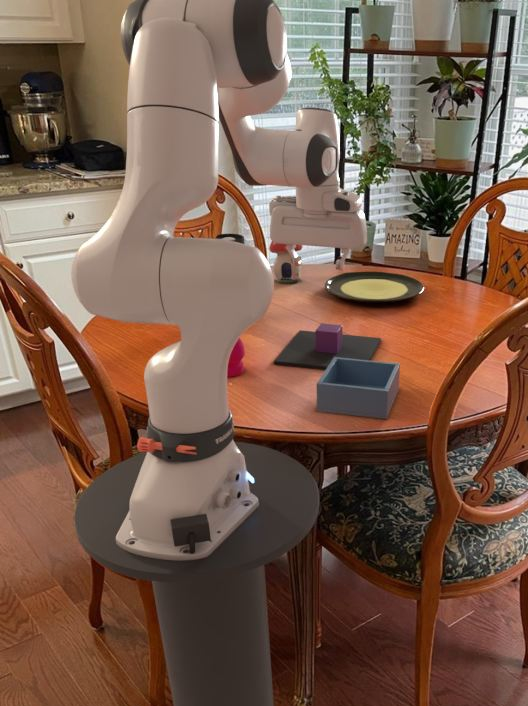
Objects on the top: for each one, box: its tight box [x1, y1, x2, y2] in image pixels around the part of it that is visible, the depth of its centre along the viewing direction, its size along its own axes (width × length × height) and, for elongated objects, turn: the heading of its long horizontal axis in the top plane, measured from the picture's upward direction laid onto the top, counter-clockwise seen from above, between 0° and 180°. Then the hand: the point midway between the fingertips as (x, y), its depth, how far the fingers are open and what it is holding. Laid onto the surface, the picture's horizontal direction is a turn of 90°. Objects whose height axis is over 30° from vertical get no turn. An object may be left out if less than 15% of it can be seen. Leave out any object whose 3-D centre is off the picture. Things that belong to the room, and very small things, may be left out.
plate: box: [324, 270, 425, 304], centre depth 199 cm, size 28×28×2 cm
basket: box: [316, 357, 401, 420], centre depth 139 cm, size 14×14×6 cm
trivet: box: [273, 330, 382, 371], centre depth 162 cm, size 20×20×1 cm
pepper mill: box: [227, 337, 246, 378], centre depth 147 cm, size 7×7×20 cm
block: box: [314, 323, 343, 354], centre depth 160 cm, size 5×5×5 cm
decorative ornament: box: [268, 240, 303, 285], centre depth 205 cm, size 9×7×15 cm
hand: (318, 267), depth 150 cm, fingers open, 8 cm apart
